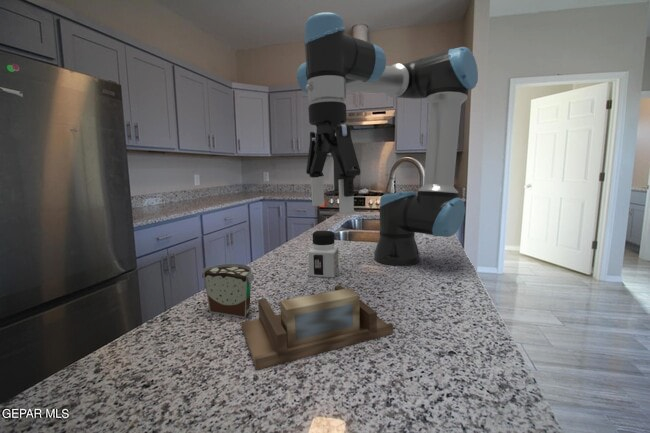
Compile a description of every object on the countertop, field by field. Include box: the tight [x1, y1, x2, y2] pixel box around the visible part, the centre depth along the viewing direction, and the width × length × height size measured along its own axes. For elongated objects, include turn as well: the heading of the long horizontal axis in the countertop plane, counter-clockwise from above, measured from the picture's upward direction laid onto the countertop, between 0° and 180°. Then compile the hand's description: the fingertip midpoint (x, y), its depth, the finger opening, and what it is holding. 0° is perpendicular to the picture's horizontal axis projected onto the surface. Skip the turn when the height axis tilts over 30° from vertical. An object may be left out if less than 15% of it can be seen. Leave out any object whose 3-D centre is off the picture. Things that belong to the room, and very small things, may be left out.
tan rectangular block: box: [279, 287, 361, 348], centre depth 57 cm, size 14×4×7 cm, turn 113°
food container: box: [201, 263, 255, 319], centre depth 70 cm, size 12×6×10 cm, turn 71°
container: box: [307, 229, 339, 279], centre depth 94 cm, size 8×8×13 cm
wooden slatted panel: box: [240, 285, 394, 371], centre depth 61 cm, size 26×15×5 cm, turn 113°
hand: (331, 209), depth 65 cm, fingers open, 13 cm apart
